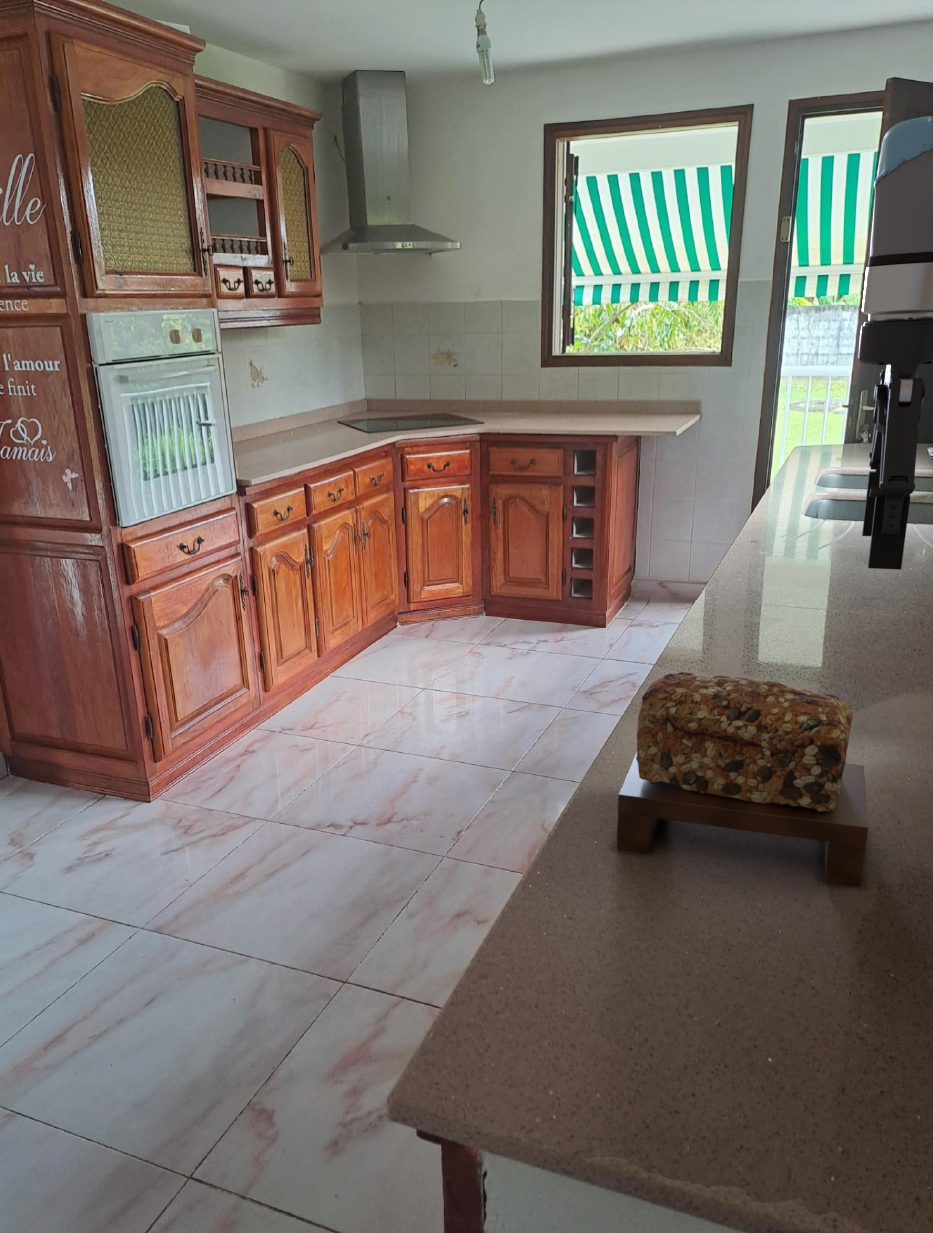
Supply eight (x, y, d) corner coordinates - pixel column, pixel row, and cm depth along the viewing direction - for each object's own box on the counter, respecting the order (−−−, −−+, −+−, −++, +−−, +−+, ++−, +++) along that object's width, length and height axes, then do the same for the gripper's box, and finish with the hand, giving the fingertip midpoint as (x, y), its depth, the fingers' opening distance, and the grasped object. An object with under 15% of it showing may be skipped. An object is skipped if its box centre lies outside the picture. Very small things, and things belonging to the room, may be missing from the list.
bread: (632, 786, 94) (635, 691, 90) (658, 743, 103) (662, 655, 99) (838, 821, 86) (850, 718, 82) (847, 771, 95) (858, 676, 91)
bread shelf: (857, 818, 98) (863, 765, 96) (860, 886, 87) (868, 827, 84) (639, 790, 106) (641, 740, 104) (616, 848, 94) (618, 794, 92)
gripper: (975, 317, 73) (937, 586, 81) (939, 313, 95) (912, 525, 102) (867, 322, 76) (840, 582, 83) (857, 316, 98) (836, 523, 105)
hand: (880, 551), depth 93 cm, fingers open, 13 cm apart
